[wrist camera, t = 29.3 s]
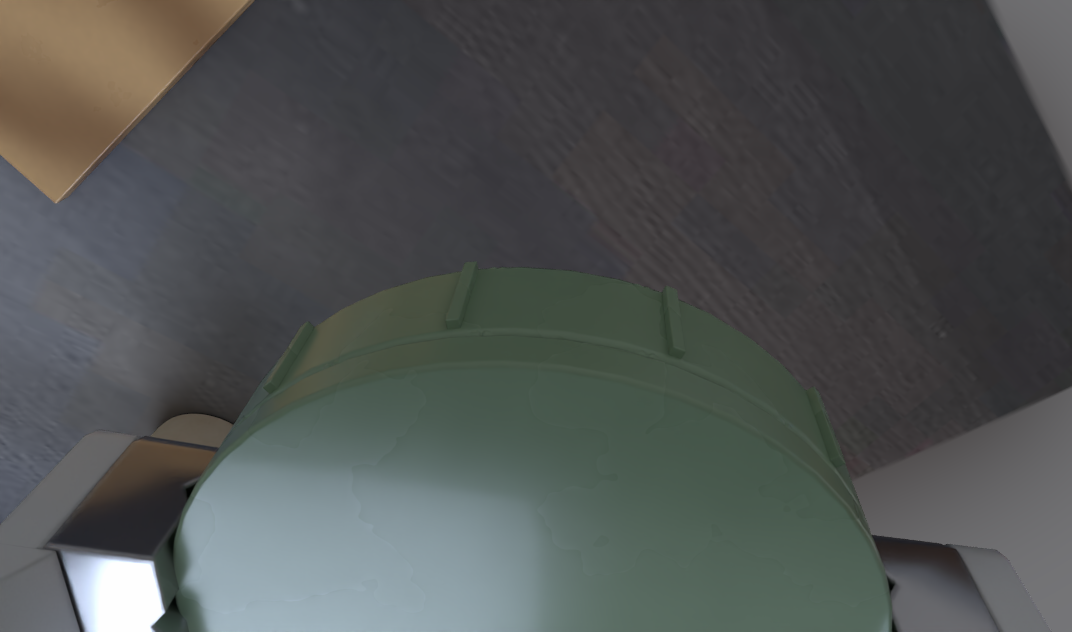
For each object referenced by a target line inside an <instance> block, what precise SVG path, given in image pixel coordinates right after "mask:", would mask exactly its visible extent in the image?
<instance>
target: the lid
mask: <svg viewBox="0 0 1072 632" xmlns="http://www.w3.org/2000/svg"><path fill="white" fill-rule="evenodd" d="M173 562H174V568H175V573H176V578H177V582H178V586H179V590H178V592H177V593H176V595H175V599H176V604H177V607H178V610H179V612H180V613H181V615H182V616H183V617H184V618H185V619H186V620H187V624H188V629H189V632H892V600H891V595H890V590H889V585H888V580H887V575H886V571H885V568H884V565H883V563H882V560H881V557H880V555H879V552H878V550H877V547H876V544H875V542H874V539H873V537H872V535H871V532H870V528H869V526H868V523H867V520H866V518H865V515H864V512H863V510H862V507H861V505H860V502H859V499H858V496H857V494H856V491H855V489H854V486H853V484H852V481H851V478H850V475H849V473H848V470H847V467H846V465H845V460H844V457H843V455H842V452H841V449H840V447H839V444H838V441H837V439H836V436H835V434H834V431H833V428H832V426H831V423H830V420H829V418H828V415H827V412H826V410H825V407H824V404H823V402H822V399H821V397H820V394H819V392H818V391H817V390H816V388H815V387H812V388H810V389H808V390H805V389H804V388H803V387H802V386H801V385H800V384H799V383H798V382H797V381H796V379H795V378H794V377H793V376H792V375H791V374H790V373H789V372H788V371H787V370H786V368H785V367H784V366H783V365H782V364H781V363H779V362H778V361H777V360H776V359H774V358H773V357H772V356H771V355H770V354H768V352H766V351H765V350H763V349H762V348H761V347H760V346H759V345H757V344H756V343H755V342H754V341H752V340H751V339H750V338H749V337H747V336H745V335H744V334H742V333H740V332H739V331H737V330H736V329H734V328H732V327H731V326H729V325H727V324H726V323H724V322H722V321H721V320H719V319H718V318H716V317H714V316H713V315H711V314H709V313H708V312H705V311H703V310H701V309H699V308H696V307H694V306H692V305H690V304H687V303H685V302H683V301H681V300H679V299H678V295H677V290H676V289H673V288H671V287H668V286H665V288H664V290H663V292H659V291H655V290H652V289H650V288H648V287H645V286H644V287H642V286H641V285H639V284H633V283H630V282H626V281H623V280H620V279H615V278H609V277H604V276H599V275H593V274H588V273H583V272H577V271H572V270H558V269H544V268H529V267H512V268H507V267H500V268H495V267H493V268H489V269H478V266H477V262H467V263H465V264H464V267H463V270H462V271H461V272H455V273H449V274H443V275H437V276H431V277H426V278H423V279H420V280H416V281H413V282H410V283H406V284H403V285H400V286H396V287H393V288H390V289H387V290H384V291H381V292H379V293H377V294H375V295H372V296H369V297H367V298H366V299H362V300H360V301H359V302H357V303H355V304H352V305H350V306H348V307H346V308H344V309H342V310H341V311H339V312H337V313H336V314H334V315H333V316H331V317H330V318H328V319H327V320H325V321H323V322H322V323H320V324H319V325H317V326H316V327H314V326H313V325H312V324H311V323H309V322H306V323H305V324H304V325H302V326H301V327H300V329H299V330H298V332H297V333H296V335H295V337H294V338H293V340H292V341H291V343H290V345H289V346H288V348H287V349H286V351H285V352H284V354H283V355H282V356H281V357H280V359H279V360H278V361H277V362H276V364H275V365H274V366H273V367H272V369H271V370H270V371H269V372H268V374H267V375H266V376H265V377H264V379H263V380H262V381H261V383H260V384H259V386H258V388H257V389H256V391H255V392H254V394H253V395H252V397H251V398H250V400H249V402H248V403H247V405H246V406H245V408H244V409H243V411H242V412H241V414H240V416H239V417H238V419H237V420H236V422H235V423H234V425H233V427H232V428H231V430H230V431H229V433H228V434H227V436H226V437H225V439H224V441H223V442H222V444H221V445H220V447H219V449H218V451H217V452H216V453H215V455H214V456H213V458H212V459H211V461H210V462H209V464H208V465H207V467H206V469H205V470H204V472H203V473H202V475H201V476H200V478H199V480H198V481H197V483H196V485H195V487H194V489H193V491H192V493H191V495H190V497H189V498H188V500H187V502H186V504H185V506H184V508H183V510H182V514H181V517H180V521H179V524H178V528H177V531H176V535H175V538H174V549H173Z"/></svg>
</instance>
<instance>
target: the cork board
mask: <svg viewBox="0 0 1072 632" xmlns="http://www.w3.org/2000/svg"><path fill="white" fill-rule="evenodd" d="M254 1H255V0H0V155H1V156H2V157H4V158H5V159H6V160H7V161H8V162H9V163H10V164H11V165H13V166H14V167H15V168H16V169H17V170H18V171H19V172H21V173H22V174H23V175H24V176H25V177H26V178H27V179H28V180H30V181H31V182H32V183H33V184H34V185H35V186H36V187H37V188H39V189H40V190H41V191H42V192H43V193H44V194H45V195H46V196H48V197H49V198H50V199H51V200H52V201H53V202H54V203H59V202H60V201H62V200H64V199H65V198H67V197H68V196H69V195H70V194H71V193H72V192H73V191H74V190H75V189H76V188H77V187H78V186H79V185H80V184H81V183H82V182H83V181H84V180H85V179H86V178H87V176H88V175H89V174H90V173H91V172H92V171H93V170H94V169H95V168H96V167H97V166H98V165H99V164H100V163H101V162H102V161H103V160H104V159H105V158H106V157H107V155H108V154H109V153H110V152H111V151H112V150H113V149H114V148H115V147H116V146H117V145H118V144H119V143H120V142H121V141H122V140H123V139H124V138H125V137H126V135H127V134H128V133H129V132H130V131H131V130H132V129H133V128H134V127H135V126H136V125H137V124H138V123H139V122H140V121H141V120H142V119H143V118H144V117H145V115H146V114H147V113H148V112H149V111H150V110H151V109H152V108H153V107H154V106H155V105H156V104H157V103H158V102H159V101H160V100H161V99H162V98H163V97H164V95H165V94H166V93H167V92H168V91H169V90H170V89H171V88H172V87H173V86H174V85H175V84H176V83H177V82H178V81H179V80H180V79H181V78H182V77H183V75H184V74H185V73H186V72H187V71H188V70H189V69H190V68H191V67H192V66H193V65H194V64H195V63H196V62H197V61H198V60H199V59H200V58H201V57H202V56H203V54H204V53H205V52H206V51H207V50H208V49H209V48H210V47H211V46H212V45H213V44H214V43H215V42H216V41H217V40H218V39H219V38H220V37H221V36H222V34H223V33H224V32H225V31H226V30H227V29H228V28H229V27H230V26H231V25H232V24H233V23H234V22H235V21H236V20H237V19H238V18H239V17H240V16H241V14H242V13H243V12H244V11H245V10H246V9H247V8H248V7H249V6H250V5H251V4H252V3H253V2H254Z"/></svg>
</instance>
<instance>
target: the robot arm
mask: <svg viewBox="0 0 1072 632" xmlns="http://www.w3.org/2000/svg"><path fill="white" fill-rule="evenodd" d="M218 449H219V448H218V447H211V446H205V445H199V444H193V443H186V442H180V441H174V440H167V439H161V438H155V437H148V436H144V437H141V436H135V435H129V434H123V433H117V432H111V431H105V430H97V431H95V432H92V433H90V434H88V435H85V436H84V437H83V438H82V439H81V440H80V441H79V442H78V443H77V444H76V445H75V446H74V447H73V448H72V449H71V450H70V451H69V452H68V453H67V455H66V456H65V457H64V458H63V459H62V460H61V461H60V462H59V463H58V464H57V465H56V466H55V467H54V468H53V469H52V470H51V471H50V472H49V474H48V475H47V476H46V477H45V478H44V479H43V480H42V481H41V482H40V483H39V484H38V485H37V486H36V487H35V488H34V489H33V490H32V491H31V492H30V494H29V495H28V496H27V497H26V498H25V499H24V500H23V501H22V502H21V503H20V504H19V505H18V506H17V507H16V508H15V509H14V510H13V511H12V512H11V514H10V515H9V516H8V517H7V518H6V519H5V520H4V521H3V522H2V523H1V524H0V632H189V629H188V624H187V620H186V619H185V618H184V617H183V616H182V615H181V613H180V612H179V610H178V607H177V604H176V599H175V595H176V593H177V592H178V590H179V586H178V582H177V578H176V573H175V568H174V562H173V549H174V538H175V535H176V531H177V528H178V524H179V521H180V517H181V514H182V510H183V508H184V506H185V504H186V502H187V500H188V498H189V497H190V495H191V493H192V491H193V489H194V487H195V485H196V483H197V481H198V480H199V478H200V476H201V475H202V473H203V472H204V470H205V469H206V467H207V465H208V464H209V462H210V461H211V459H212V458H213V456H214V455H215V453H216V452H217V451H218ZM872 537H873V539H874V542H875V544H876V547H877V550H878V552H879V555H880V557H881V560H882V563H883V565H884V568H885V571H886V575H887V580H888V585H889V590H890V595H891V600H892V632H1051V630H1050V629H1049V627H1048V625H1047V624H1046V622H1045V620H1044V618H1043V617H1042V615H1041V613H1040V612H1039V610H1038V608H1037V607H1036V605H1035V604H1034V602H1033V600H1032V598H1031V597H1030V595H1029V593H1028V592H1027V590H1026V588H1025V587H1024V585H1023V583H1022V582H1021V580H1020V578H1019V576H1018V575H1017V573H1016V571H1015V570H1014V568H1013V567H1012V565H1011V563H1010V562H1009V560H1008V559H1007V558H1006V557H1005V556H1004V555H1002V554H1001V553H1000V552H998V551H997V550H993V549H984V548H977V547H968V546H960V545H951V544H946V545H942V544H939V543H931V542H924V541H916V540H908V539H900V538H892V537H884V536H876V535H872Z"/></svg>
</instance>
